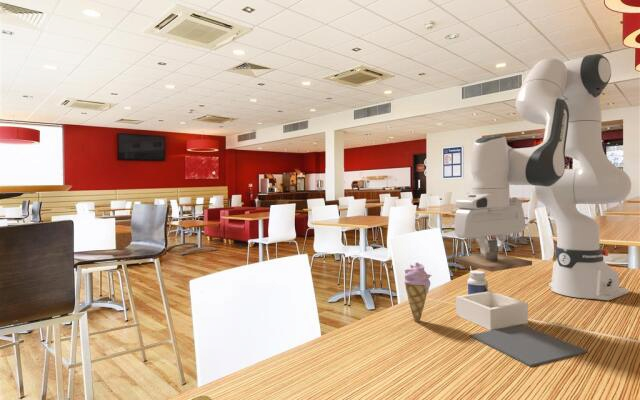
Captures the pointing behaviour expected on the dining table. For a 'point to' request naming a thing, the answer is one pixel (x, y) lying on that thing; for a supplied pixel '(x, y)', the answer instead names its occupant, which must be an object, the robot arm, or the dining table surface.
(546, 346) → the mat
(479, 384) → the dining table surface
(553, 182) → the robot arm
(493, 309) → the dish
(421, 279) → the ice cream cone
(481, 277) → the pill bottle
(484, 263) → the lid
